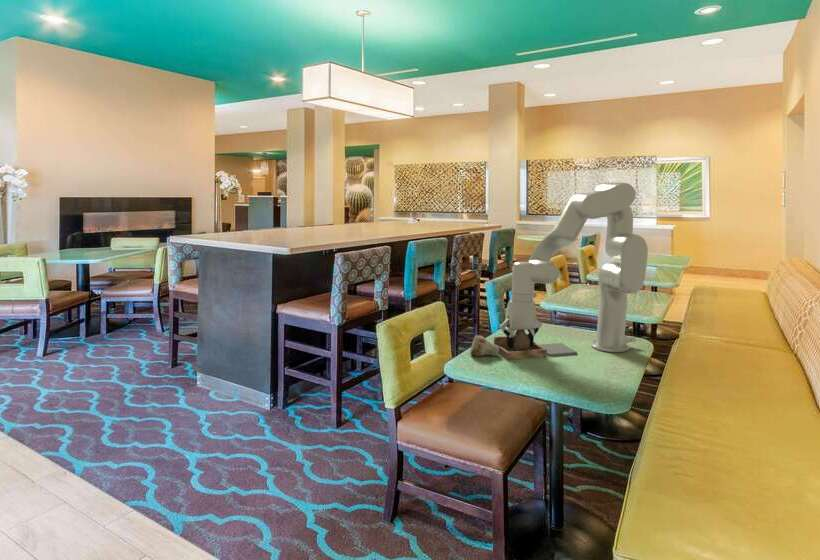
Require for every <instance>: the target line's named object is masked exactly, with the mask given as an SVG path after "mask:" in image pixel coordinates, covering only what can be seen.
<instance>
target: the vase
mask: <svg viewBox="0 0 820 560" xmlns="http://www.w3.org/2000/svg"><path fill="white" fill-rule="evenodd" d="M527 334H528V333H526V331H525V330H515V332H514V334H513V336H512V337H513V348H512V349H511V350H510V351H511V352H512V351H524V350H530V349H531V348H530V340H529V337H528V335H527Z"/></svg>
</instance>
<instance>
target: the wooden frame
mask: <svg viewBox="0 0 820 560" xmlns="http://www.w3.org/2000/svg"><path fill="white" fill-rule="evenodd" d="M493 344H494V345H497V346H498V347H499V352H498V354H497V355H499V356H501V357H503V359H505V360H506V361H510V360H522V359H534V358H535V359H536V358H546V357H547V356H548V355H547V349H545V348H543V347H542V346H540V344H538V343H536V342H535V341H533V347H530V348H529V350H524V351H512V350H511V348H509V347H508V346H507V336H506V335H500V336H494V337H493Z"/></svg>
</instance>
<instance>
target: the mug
mask: <svg viewBox="0 0 820 560" xmlns="http://www.w3.org/2000/svg"><path fill="white" fill-rule="evenodd" d="M498 352H499V347H498V346H497V345H494V343H492V342H490V341H489V340H487V339H486V338H485V337H483V336H482V335H477V334H476V335H475V336H474V337H473V340H472V344H471V346H470V353H469V354H471V355H472V356H476V357H478V356H479V357H480V356H492V357H496V356H497V355H499V354H498Z"/></svg>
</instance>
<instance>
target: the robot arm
mask: <svg viewBox="0 0 820 560" xmlns="http://www.w3.org/2000/svg"><path fill="white" fill-rule="evenodd" d="M636 192H637V191H636V190H635V188H634V186H633V185H631V184H630V183H628V182H602V183H600V184H598V185H597V186H595V188H594V189H593V193H592V192H590V193H587V192H582V193H581V192H580V193H575V194H573V195H572V196H571V197H570V198H569V200H568V202H567V203H566V205H565V207H564V209H563V211H562V213H561V214H560V215H559V218H558V220H557V222H556V223H555V225H554V227H553V228H552V230H551V231H550V232H549V233H548V234H547V235H545V237H544V238H543V239H542V240H540V242H538V244H537V245H536V246H535V248H534V250H533V251H532V253H531V255H530V257H529V258H528V261H515V262H513V265H512V272H511V273H512V276H511V293H510V294H511V297H510V300H508V302H507V307H506V311H505V320H504V321H502V323H500V324H499V329H500V330H501V331H502V332H503V334H504V335H505V336H507V346H508V347H509V348H511V349H512V348H513V337H512V336H513V334H514V333H515V332H516V331H517V330H524V331H525V330H526V331H527V333H526V334H527V335H528V337H529V340H530V347H533V342H535V341H534V337H535V336H536V334H537V333H538V332H539V330H540V329H541V327H542V326H543V323H542V322H540V321H539V320H538V318H537V307H536V302H535V298H537V297H538V295H537V293H535V283H536V284H543V285H550V284H553V283H555V282H557V280H558V279H559V278H560V269H559V267H558V266H557V265H556V264H554V263H553V262H550V261H551V259H552V258H553V257H554V255H555V254H557V253H558V251H560V250H561V249H563V248H565V247H567V246H570V245H571V244H573V243H574V242H576V240H577V239H578V237H579V235H580V233H581V232H582V229H583V227H584V226H585V224H586V223H587V221H588V220H597V219H600V218H604V217H606V219H607V220H606V224H607V225H606V234H605V243H604V244H605V246H604V249H605V253H606V255H607V256H609V257H610V258H613V259H616V260H620V262H618V261H609V262H606V263H605V264H603V265H602V266H601V267H600V268H599V272H598V277H597V278H598V286H599V299H598V302H599V303H598V313H597V325H596V326H597V327H596V340H592V341H591V347H592V348H594V349H596V350H598V351H603V352H608V353H624V352H627V351H628V350H629V345H628V343H635V342H636V337H635V336H628V335H625V334H626V333H625V332H626V321H627V310H628V295H627V294H630V295H632V294H636V293H637V292H639V291H640V290H641V289H642V287H643V286H644V284H645V278H646V275H647V263H648V255H649V254H648V253H649V252H648V251H649V249H648V243H647V242H646V240H645V239H644V237H642V236H641V235H638V234H636V233H634V232H633V231H634V214H633V213H634V212H633V210H632V208H631V205H632V204H633V203H634V202H635V199H636V196H637V193H636Z"/></svg>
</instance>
